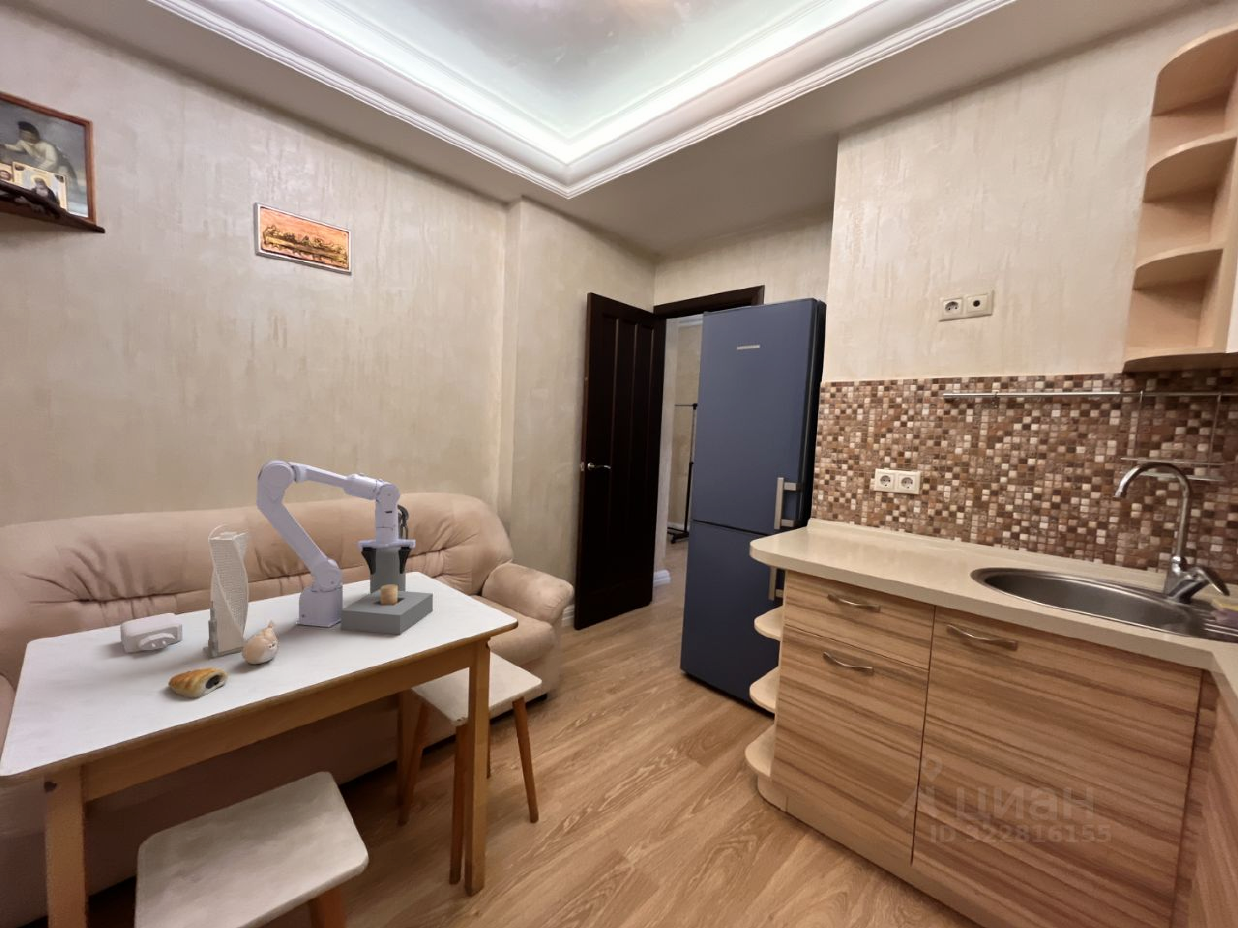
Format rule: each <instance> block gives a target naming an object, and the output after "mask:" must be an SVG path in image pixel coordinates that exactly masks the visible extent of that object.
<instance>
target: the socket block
mask: <svg viewBox="0 0 1238 928" xmlns="http://www.w3.org/2000/svg"><path fill="white" fill-rule="evenodd" d="M433 597H434V593H429V592H418V591H417V592H416V591H407V590H405V591H398V595H397V604H395V605H394V606H389V605H381V589H379V590H377V591H375V592H374V593H372V594H370V593H369V594H368V595H366V596H365V597H362V598H361V599H359V600H356V601H354V602H352V603H351V604H349V605H347V606H346V607H343V609H341V621H340V629H341V630H347V631H356V632H359V631H360V632H367V633H368V632H369V633H379V634H390V635H398V636H399V635H402V634H403V633H404V632H406V631H407V630H409V629H410V628H411V627H413V626H415V624H417V623H418V622H419V621H421V620H423V618H425V617H426V616H427V615H429V614H430V613H432V612H433V610H434V607H433V606H434V605H433V602H434V599H433Z"/></svg>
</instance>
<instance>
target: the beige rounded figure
mask: <svg viewBox="0 0 1238 928" xmlns="http://www.w3.org/2000/svg"><path fill="white" fill-rule="evenodd" d="M276 625H277V624H276V623H275V622H274V621H273V620H272V619H271V620H270V621H269V623H268V625H267V627H266V628H264V629H262V631H260V632H258V633H256V634H255V636H254V637H252V638H251V639H249V640H248V641H247V642H246V644H245V645H244V647H243V650H242V652H241V655H242V658H243V659H244V660H245V661H246V662H247V663H249V664H252V665H258V664H264V663H266V662H269V661H271V660H272V659H273V658H274V657H275V655H277V653H278V650H279V647H280V646H279V640H278V638H277V637H276V634H275V632H274V630H273V628H274V626H276Z"/></svg>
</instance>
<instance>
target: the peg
mask: <svg viewBox="0 0 1238 928" xmlns="http://www.w3.org/2000/svg"><path fill="white" fill-rule="evenodd" d="M397 595H398V586H397V585H395V584H389V585H384V586H382V587H381V605H389V606H394V605H395V604H397Z"/></svg>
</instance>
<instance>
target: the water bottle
mask: <svg viewBox="0 0 1238 928" xmlns="http://www.w3.org/2000/svg"><path fill="white" fill-rule="evenodd" d="M397 508H398V511H400V512H401V513H400V512H398V539H406V540H409V527H408V524H407V521H408V520H409V518H410V515H409V514H410V513H409V511H408V509H406V508H405V507H404V506H403V505H400V504H398V503H397ZM404 529H405V537H404ZM400 549H401V548H377V550H376V572H375V573H374V574H373V575H371V574H370V573H369V579H370V580H369V595H370V594H372V593H374V592H375V591H377V590H379V589H381V587H382V586H384V585H389V584H395V585H397V586H398V591H407V590H406V582H407V581H406V579H407V578H406V575H407V574H406V570H407V569H406V568H407V567H406V566H407V564H406V565H405V571H404V573H403V574H400V572H399V567H400V562H399V554H398V550H400Z"/></svg>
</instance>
